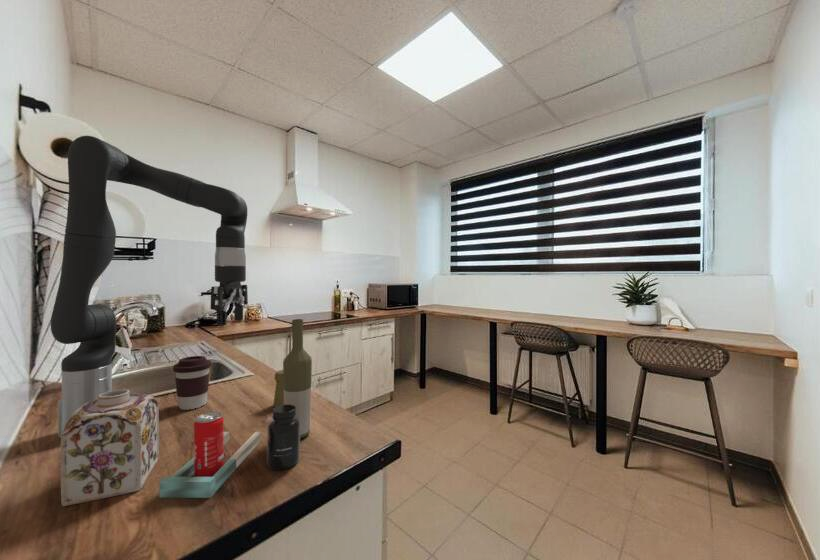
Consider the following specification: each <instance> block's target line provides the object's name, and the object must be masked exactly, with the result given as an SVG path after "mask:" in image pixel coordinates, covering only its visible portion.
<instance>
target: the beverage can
mask: <svg viewBox="0 0 820 560" xmlns="http://www.w3.org/2000/svg"><path fill="white" fill-rule="evenodd" d="M224 432H225V431H224V417H223V413H222V412H219V411H212V412H206V413H204V414H203V413H202V414H201V415H199V416H197V417H196V418H195V421H194V423H193V451H194V452H193V455H194V456H193V458H194V473H193V474H194V475H195V477H213V476H214V475H215V474H216V473H217V471H218V470H219V469H220V468H221V467H222V466H223V465H224V464H225V461H224V460H225V459H224V458H225V457H224V451H225V450H224V448H225V447H224V446H225V444H224Z"/></svg>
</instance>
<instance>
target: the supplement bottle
mask: <svg viewBox="0 0 820 560" xmlns="http://www.w3.org/2000/svg"><path fill="white" fill-rule="evenodd" d="M271 418H272V419H271V421H270V422H269V423H268V425H267V431H266V435H267V437H266V442H267V443H266V465H267V466H268V467H269V468H270V469H271V470H273V471H283V470H288V469H290V468H292V467H294V466H295V465H296V464H297V463H298V462H299V460H300V455H301V454H300V453H301V451H300V449H301V438H300V421H299V419H298V418H296V407H295V406H293V405H281V406H278V407H276V408H274V407H273V409H272V415H271Z"/></svg>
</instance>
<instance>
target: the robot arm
mask: <svg viewBox="0 0 820 560" xmlns="http://www.w3.org/2000/svg"><path fill="white" fill-rule="evenodd" d="M67 172H68V173H67V174H68V176H67V177H68V201H67V214H66V224H65V230H64V237H63V238H64V239H63V250H62V251H63V252H62V253H63V254H62V263H61V269H60V270H61V271H60V277H59V278H60V279H59V284H58V288H57V292H56V296H55V299H54V304H53V309H52V312H51V317H50V331H51V336H53V338H54V339H55V341H57V342H58V343H60V344H63V345H72V344H77V343H79V346H78V347H77V348H76V349H75V350H74V351H73V352H71V353H70V354H68V355H67V356H65V357H64V358H63V359H62V360H61V365H60V367H61V398H60V399H58V401H57V420H58V421H57V424H58V426H57V429H58V430H57V431H58V433H57V434H58V436H57V437H58V438H61V435H60V434H61V432H62V431H63V429H64V427H65V425H66V423H67V422H68V420H69V417H70V416H71V414H72V413H73V412H74V411H75V410H76V409H77V408H79V407H80V406H82V405H83V404H85V403H88V402H91V401H94V400H96V399H98V396H99V395H100V394H102V393H105V392H109V391H113V388H112V387H113V385H112V383H113V379H112V377H113V376H112V375H113V372H112V371H113V370H112V365H113V364H112V358H113V356H114V355H115V351H116V343H117V342H116V341H117V340H116V339H117V319H116V315H115V312H114V310H112V308H111V307H109V306H108V305H105V304H103V303H102V304H100V303H98V304H89V302H90V295H91V292H92V289H93V287H94V285H95V283H96V282H97V281H98V280H99V277H101V276H102V274H103V273H104V272H105V270H107V268H108V266H109V265H110V264H111V262H112V260H113V258H114V255H115V249H116V238H117V237H116V236H117V230H116V227H115V223H114V220H113V218H112V214H111V212H110V209H109V206H108V203H107V198H106V197H107V195H106V193H107V192H106V191H107V183H108V182H109V181H110V182H116V183H120V184H122V183H123V184H125V185H133V186H137V187H140V188H144V189H147V190H150V191H152V192H155V193H158V194H160V195H162V196H165V197H167V198H170V199H172V200H175V201H179V202H181V203H185V204H187V205H190V206H193V207H197V208H203V209H205V210H206V211H207V210H208V211H209V212H213V213H216V214H218V215H219V216H220V225H219V227H217V228H216V231H215V252H214V281H215V282H217V283H219V285H218V286H217V285H215V286H211V288H210V310H213V311H215V312H216V325H217V326H227V323H228V322H227V321H228V320H227V319H228V318H227V309H228V307H229V305H230V304H233V306H234V309H233V311H234V313H233V314H234V317H233V319H234V321H236V322H237V321H241V322H242V321H244V308H245V306H246V305H248V304H249V301H248V300H249V299H248V295H249V294H248V284H242V282H243V283H244V282H246V280H247V278H246V275H247V271H246V270H247V269H246V268H247V266H246V265H247V264H246V263H247V261H246V260H247V259H246V258H247V257H246V251H245V245H246V244H245V243H246V239H245V238H246V237H245V231H246V227H247V220H248V205H247V203H246V200H245V199H244V198H243V197H241V196H240V195H239V194H238V193H236V192H235V191H233V190H231V189H227V188H224V187H222V186H217V185H214V184H210V183H209V184H208V183H205V182H204V181H202V180H198V179H196V178H193V177H191V176H187V175H184V174H181V173H179V172H176V171H170V170H166V169H162V168H160V167H159V168H158V167H155V166H153V165H150V164H147V163H145V162H143V161H141V160H138V159H137V158H135V157H133V156H131V155H129V154H127V153H125V152H124V151H123V150H121V149H120V148H119V147H116V146H114V145H112V144H110V143H108V142H107V141H104V140H102V139H100V138H98V137H95V136H93V135H81V136H79V137H76V138H75V139H74V140H73V141H71V143H70V146H69V148H68V151H67Z"/></svg>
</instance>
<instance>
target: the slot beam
mask: <svg viewBox="0 0 820 560" xmlns="http://www.w3.org/2000/svg"><path fill="white" fill-rule="evenodd" d="M223 432H224V445H225V444H227V443H228V442H229V441H230V439H231V438H230V434H231V433H230V431H223ZM260 442H262V431H254V433H253V434H252V435H251V436H250V437H248V439H247V440H245V442H244V443H243V444H242V445H241V446H240V447H239V448H238V449H237V450H236V452H235V453H233V454H232V456H231V457H230V458H228V460H227V461H226V462H224V465H223V466H222V467H221V468H220V469H219V470H218V471H217V473H216V474H215V475H214V476H213V477H197V476H192V475H193V474H195V473H194V457H192V459H190V460H189V461H187V463H185V465H183V466H182V467H180V468H179V470H177V471H176V472H175V473H174V474H173V475H172V476H165V477H163V478H162V479H161V480H160V481H159V482H158V484H159V485H158V486H159V489H158V490H159V491H158V493H159V495H158V496H159V499H161V498H163V499H164V498H165V499H166V498H167V499H168V498H175V499H176V498H179V499H182V498H183V499H184V498H185V499H187V498H189V499H191V498H192V499H193V498H198V499H200V498H201V499H206V498H207V499H208V498H209V499H211V498H212V497H213V496H214V495H215V493H217V491H218V490H219V489H220V488H221V487H222V485H223V484H224V483H225V482H226V481H227V480H228V478H229V477H230V476H231V475H232V474H233V473H234V472H235V470H236V469H237V468H238V467H240V465H241V464H242V463H243V462H244V460H245V459H246V458H247V457H248V456H249V455H250V453H252V451H253V450H254V449H255V448H256V447H257V445H258V444H259V443H260Z"/></svg>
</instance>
